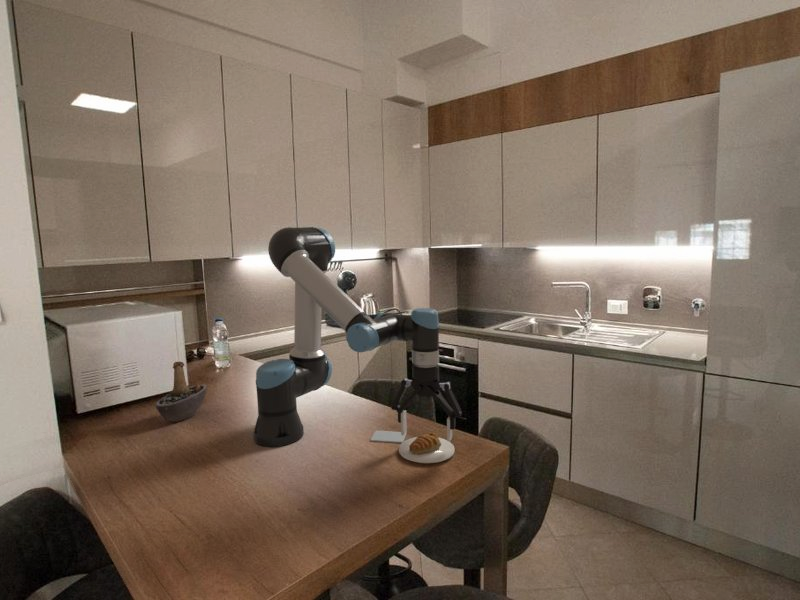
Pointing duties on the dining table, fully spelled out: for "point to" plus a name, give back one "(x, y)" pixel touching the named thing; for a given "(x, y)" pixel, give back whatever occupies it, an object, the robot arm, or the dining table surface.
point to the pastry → (425, 444)
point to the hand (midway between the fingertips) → (426, 436)
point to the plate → (432, 457)
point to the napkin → (388, 436)
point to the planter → (181, 397)
